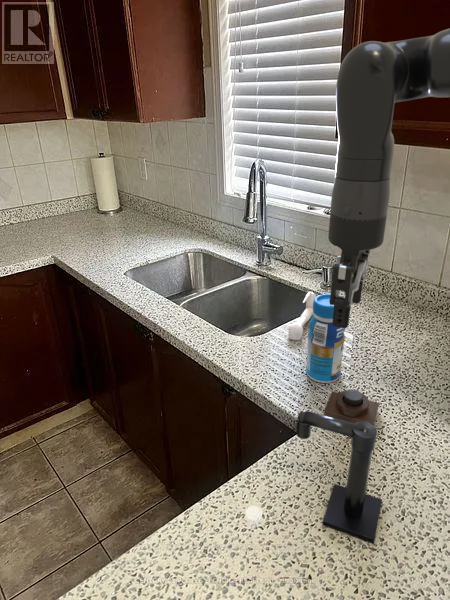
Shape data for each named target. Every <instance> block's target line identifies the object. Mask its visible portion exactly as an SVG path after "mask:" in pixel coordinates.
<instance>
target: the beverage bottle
mask: <svg viewBox="0 0 450 600" xmlns="http://www.w3.org/2000/svg"><path fill="white" fill-rule="evenodd" d="M330 295H331V293H322V294H319V295H316V297H315V298H314V301H313V313H314V315H312V316H311V317H310V319H309V321H308V329H309V330H308V331H307V336H306V337H307V351H306V368H305V372H306V375H307V376H308V377H309V379H311V380H312V381H315V382H317V383H322V384H330V383H333V382H336V381H338V379H340V377H341V375H342V364H343V363H342V361H343V353H344V344H345V341H346V336H345V331H346V328H340V327H336V326H334V325H333V324H332V322H333V312H334V305H330V302H329V300H330Z"/></svg>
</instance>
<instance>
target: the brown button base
mask: <svg viewBox="0 0 450 600" xmlns="http://www.w3.org/2000/svg"><path fill="white" fill-rule="evenodd" d="M347 390H348V389H347ZM347 390H342V391H341V392H336V391H331V393H330V395H329V398H328V400H327V402H326V406H325V407H324V410H323V415H324V416H328V417H331V418H335V419H339V420H343V421H346V422H350V423H354V424H355V423H357V422H361V421H363V422H368V423H370V424H372V425H373V426H374V427H375V425H376V421H377V417H378V412H379V405H380V402H377V401H373V400H370V399H369V398H368V396H367V395H366V394H364V393H363V392H361V391H359V392H360V393H361V394H362V403H361V405H360V406H357V407H353V406H349V405H347V404H345V403H344V393H345V391H347Z"/></svg>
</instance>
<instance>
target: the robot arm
mask: <svg viewBox="0 0 450 600" xmlns="http://www.w3.org/2000/svg"><path fill="white" fill-rule="evenodd" d="M335 88H336V89H335V108H336V109H335V111H336V123H337V125H336V126H337V133H338V144H337V153H336V163H335V175H334V181H333V186H332V190H331V197H330V198H331V200H330V211H329V223H328V236H327V238H328V242H329V243H330V244H331V245H333V246H335V247H337V248H339V249H340V250H341V251H340V252H341V253H340V255H337V257H336V261H335V263H334V265H332V277H331V287H330V294H331V295H330V300H329V302H330V305H334V312H333V322H332V324H333V325H334V326H336V327H340V328H345V329H347V328H348V326H349V323H350V316H351V307H352V304H356V305H358V304H360V303H361V300H362V293H363V287H364V285H363V284H364V282H365V279H366V278H367V273H368V271H369V262H370V257H371V256H370V255H371V254H370V253H371V250H376V249H377V248H379V247H381V246H382V244H383V243H384V238H385V233H386V232H385V231H386V224H387V216H388V210H389V204H390V197H391V196H390V195H391V175H392V167H393V159H394V154H395V153H394V151H395V138H394V134H393V133H392V127H393V117H394V112H395V111H394V110H395V104H396V103H400V102H401V103H402V102H407V101H413V100H419V99H424V98H430V97H431V98H440V99H441V98H450V28H447V29H443V30H441V31H438V32H437V33H435V34H433V35H428V36H427V35H426V36H421V37H414V38H408V39H402V40H396V41H387V42H382V41H377V40H369V41H364V42H361V43H359V44H358V45H356V46H354V47H353V48H352V49H351V50H349V52H348V53H347V54H346V55H345V57H344V59H343V60H342V62H341V64H340V67H339V70H338V73H337V79H336V87H335ZM340 292H344V293H345V294H344V295H343V296H342V295H340Z"/></svg>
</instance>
